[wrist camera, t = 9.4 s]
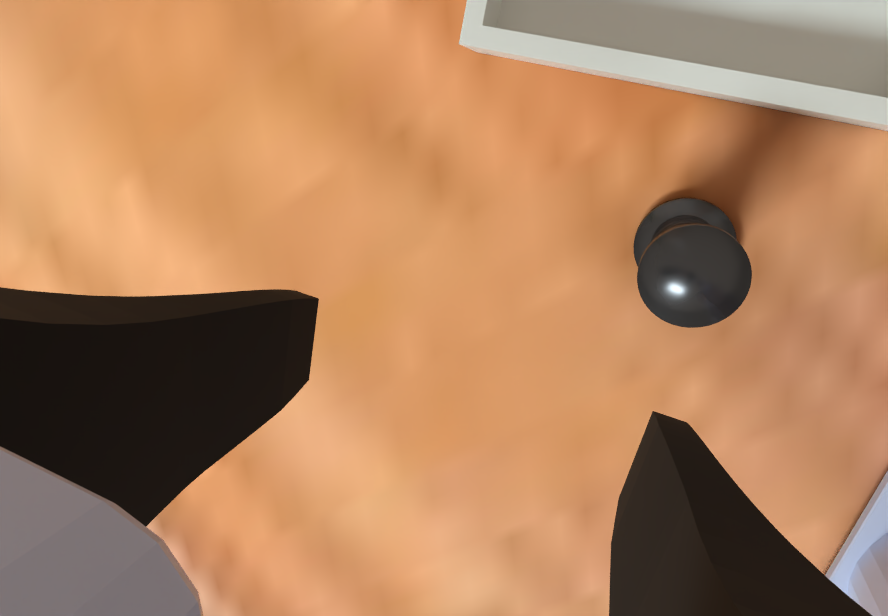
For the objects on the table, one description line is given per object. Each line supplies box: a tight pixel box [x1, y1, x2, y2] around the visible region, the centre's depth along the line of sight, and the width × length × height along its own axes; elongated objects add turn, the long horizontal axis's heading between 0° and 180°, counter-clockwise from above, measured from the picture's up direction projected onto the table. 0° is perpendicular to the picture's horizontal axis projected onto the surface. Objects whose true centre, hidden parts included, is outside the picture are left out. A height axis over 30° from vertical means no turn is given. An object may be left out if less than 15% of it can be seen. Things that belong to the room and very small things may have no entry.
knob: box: [634, 198, 752, 327], centre depth 16 cm, size 3×3×4 cm
